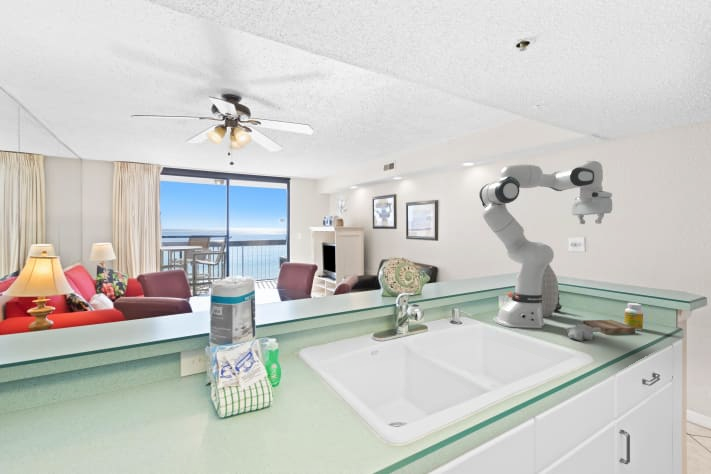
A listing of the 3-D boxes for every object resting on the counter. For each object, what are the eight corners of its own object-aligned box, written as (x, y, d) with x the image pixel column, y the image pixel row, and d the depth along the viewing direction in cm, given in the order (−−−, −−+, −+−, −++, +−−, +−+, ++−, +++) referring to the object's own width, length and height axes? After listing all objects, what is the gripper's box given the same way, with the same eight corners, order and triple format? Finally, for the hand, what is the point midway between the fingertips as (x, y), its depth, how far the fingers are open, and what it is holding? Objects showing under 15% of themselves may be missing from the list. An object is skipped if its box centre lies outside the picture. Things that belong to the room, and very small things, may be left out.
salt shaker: (558, 310, 180) (559, 288, 179) (564, 313, 174) (564, 291, 173) (547, 310, 180) (547, 288, 180) (552, 312, 174) (553, 290, 174)
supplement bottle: (626, 329, 147) (627, 304, 146) (622, 325, 152) (623, 301, 152) (644, 331, 144) (645, 306, 143) (640, 327, 149) (641, 303, 149)
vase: (532, 317, 165) (533, 262, 164) (527, 311, 177) (528, 260, 176) (561, 319, 161) (562, 263, 160) (553, 313, 173) (554, 260, 172)
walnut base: (605, 334, 140) (605, 328, 140) (583, 325, 152) (583, 320, 152) (635, 333, 141) (635, 327, 141) (611, 325, 153) (611, 319, 153)
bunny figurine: (560, 327, 136) (579, 318, 143) (561, 339, 136) (579, 329, 144) (586, 334, 127) (604, 324, 135) (586, 346, 128) (604, 336, 135)
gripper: (568, 197, 168) (567, 224, 168) (602, 192, 147) (602, 223, 147) (579, 197, 168) (579, 224, 168) (615, 193, 148) (614, 223, 148)
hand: (590, 223), depth 158 cm, fingers open, 8 cm apart
